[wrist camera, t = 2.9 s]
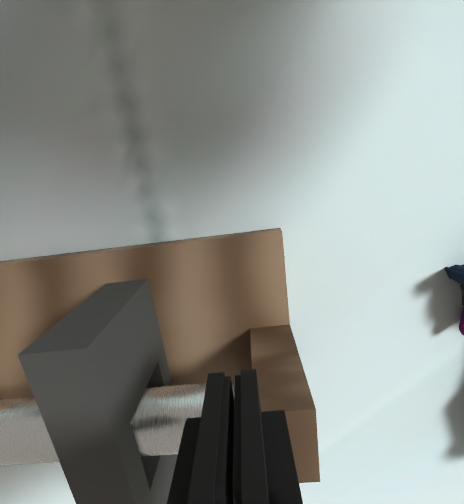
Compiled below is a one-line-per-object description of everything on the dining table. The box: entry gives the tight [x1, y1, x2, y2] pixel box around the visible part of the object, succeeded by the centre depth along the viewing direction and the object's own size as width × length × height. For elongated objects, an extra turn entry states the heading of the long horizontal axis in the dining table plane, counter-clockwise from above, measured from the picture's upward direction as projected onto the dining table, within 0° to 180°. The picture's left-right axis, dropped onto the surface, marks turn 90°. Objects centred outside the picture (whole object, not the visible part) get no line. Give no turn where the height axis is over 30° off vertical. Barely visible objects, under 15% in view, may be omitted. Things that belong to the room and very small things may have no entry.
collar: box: [18, 279, 178, 504], centre depth 14 cm, size 2×13×6 cm, turn 7°
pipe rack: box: [0, 228, 320, 483], centre depth 16 cm, size 31×16×8 cm, turn 97°
